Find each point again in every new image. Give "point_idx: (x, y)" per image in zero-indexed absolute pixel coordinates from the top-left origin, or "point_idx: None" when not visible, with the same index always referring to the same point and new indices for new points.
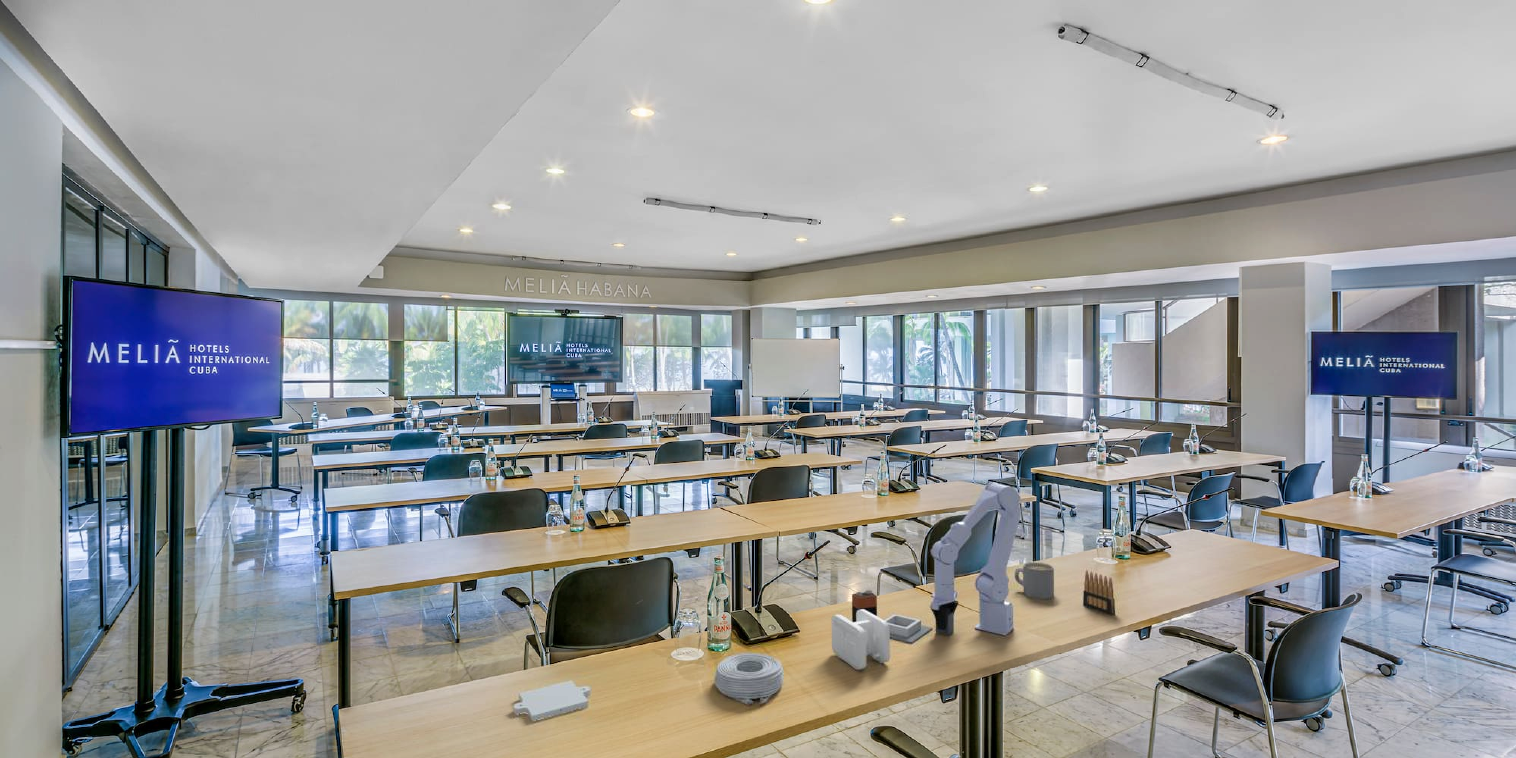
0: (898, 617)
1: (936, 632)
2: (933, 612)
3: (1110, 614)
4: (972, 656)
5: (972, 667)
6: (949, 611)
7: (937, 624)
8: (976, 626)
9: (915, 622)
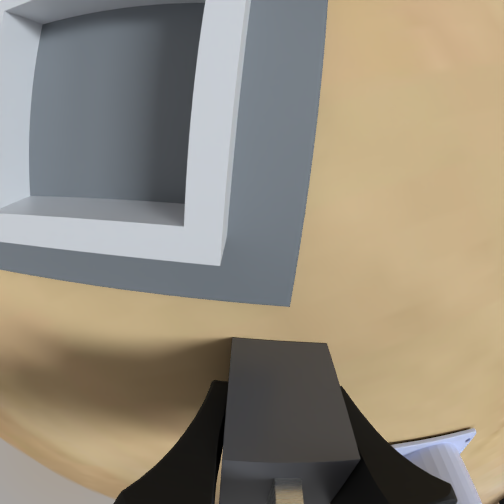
0: (209, 3)
1: (233, 344)
2: (147, 475)
3: (500, 501)
4: (92, 469)
5: (35, 459)
6: (328, 497)
7: (205, 403)
8: (398, 450)
9: (122, 238)
